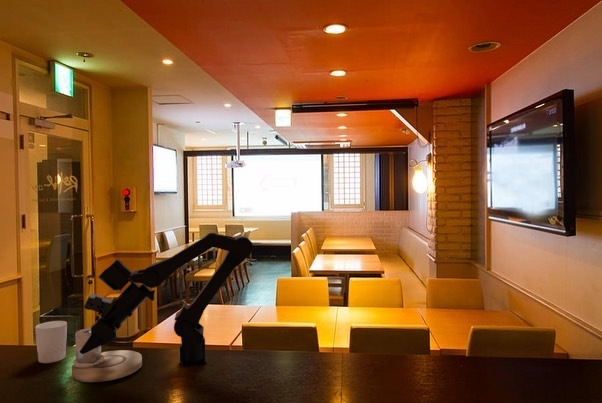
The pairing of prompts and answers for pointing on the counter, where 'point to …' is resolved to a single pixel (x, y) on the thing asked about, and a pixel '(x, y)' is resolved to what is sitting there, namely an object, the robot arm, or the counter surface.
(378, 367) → the counter surface
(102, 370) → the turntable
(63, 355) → the white cup
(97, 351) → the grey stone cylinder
